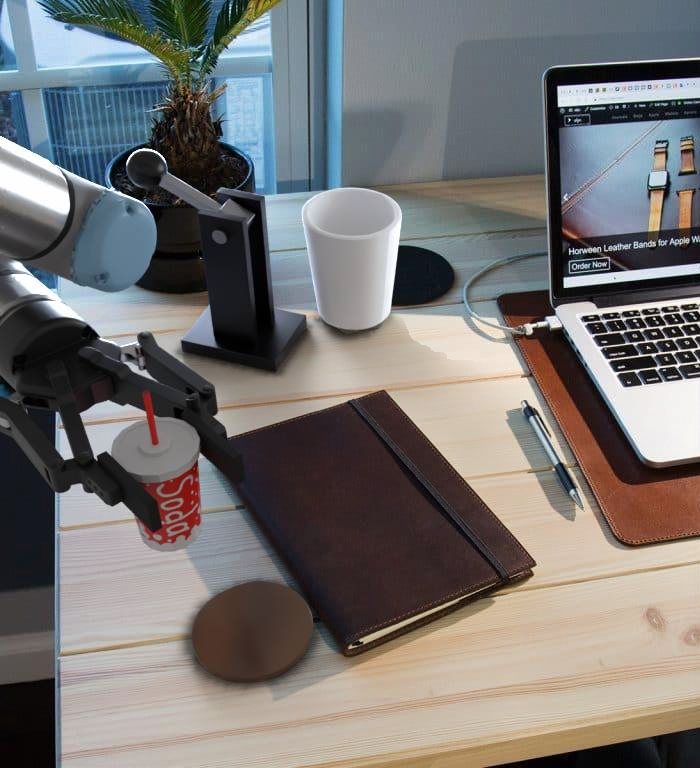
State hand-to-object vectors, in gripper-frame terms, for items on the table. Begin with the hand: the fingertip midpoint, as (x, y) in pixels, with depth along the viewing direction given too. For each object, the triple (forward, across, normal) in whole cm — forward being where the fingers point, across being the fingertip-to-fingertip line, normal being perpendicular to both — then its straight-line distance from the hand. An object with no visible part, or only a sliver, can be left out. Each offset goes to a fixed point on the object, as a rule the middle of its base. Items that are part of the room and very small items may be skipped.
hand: (198, 492), depth 73 cm
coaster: (+4, -1, -13) cm, 13 cm away
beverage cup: (-5, 0, -8) cm, 10 cm away
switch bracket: (-26, -22, -13) cm, 36 cm away
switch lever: (-31, -19, +2) cm, 36 cm away
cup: (-22, -32, -13) cm, 41 cm away
